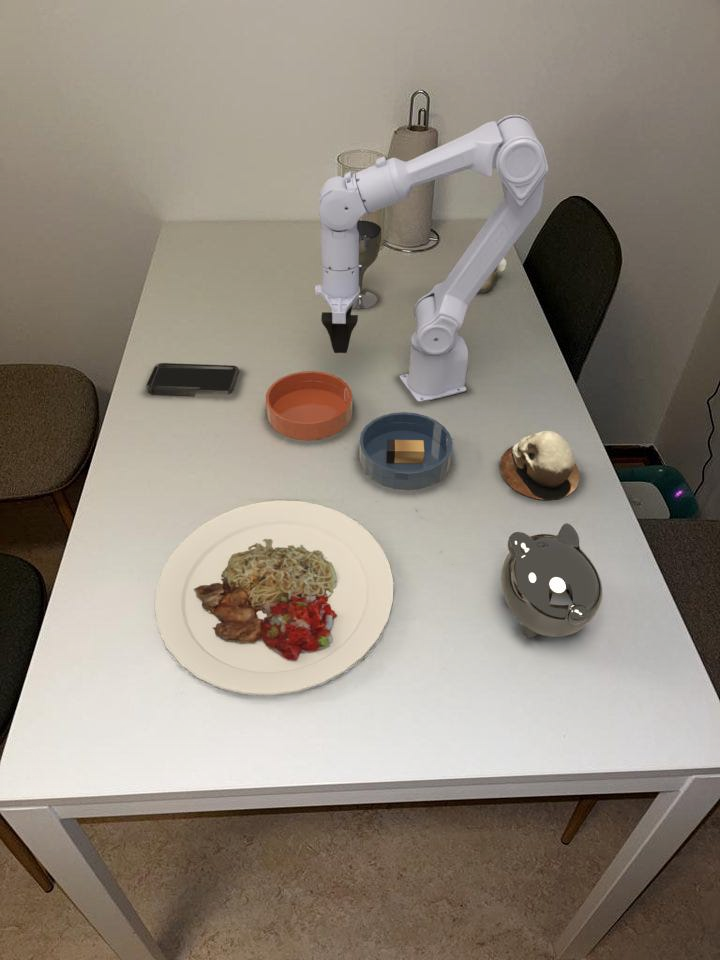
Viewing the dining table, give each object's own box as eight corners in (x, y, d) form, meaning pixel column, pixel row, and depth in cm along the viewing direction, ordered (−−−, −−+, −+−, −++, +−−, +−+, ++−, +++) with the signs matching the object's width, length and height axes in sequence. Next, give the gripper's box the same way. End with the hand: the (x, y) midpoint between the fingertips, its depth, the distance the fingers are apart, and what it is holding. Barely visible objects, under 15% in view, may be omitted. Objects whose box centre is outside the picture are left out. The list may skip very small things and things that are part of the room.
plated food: (254, 482, 103) (251, 465, 101) (433, 563, 92) (435, 547, 90) (106, 627, 85) (99, 611, 82) (308, 750, 74) (306, 736, 72)
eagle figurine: (468, 264, 151) (453, 274, 144) (490, 240, 146) (476, 249, 140) (492, 290, 151) (477, 301, 144) (515, 267, 146) (501, 277, 140)
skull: (479, 453, 107) (526, 403, 103) (516, 474, 113) (560, 428, 110) (520, 503, 98) (572, 451, 95) (557, 522, 105) (606, 474, 102)
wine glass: (386, 296, 143) (389, 226, 132) (366, 313, 138) (367, 242, 128) (354, 286, 146) (354, 217, 135) (333, 302, 141) (331, 231, 131)
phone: (156, 362, 123) (239, 365, 123) (157, 367, 124) (240, 370, 123) (144, 389, 118) (231, 392, 117) (145, 394, 118) (232, 397, 118)
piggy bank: (555, 559, 93) (575, 500, 85) (608, 654, 83) (635, 597, 75) (477, 573, 91) (489, 514, 83) (520, 672, 81) (539, 616, 73)
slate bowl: (425, 423, 114) (427, 404, 111) (465, 478, 104) (469, 458, 101) (346, 444, 110) (346, 424, 107) (381, 502, 100) (382, 483, 98)
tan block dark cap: (422, 452, 107) (423, 439, 106) (423, 464, 106) (424, 451, 104) (386, 451, 107) (387, 439, 106) (386, 463, 106) (387, 450, 104)
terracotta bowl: (334, 382, 121) (334, 363, 119) (364, 430, 112) (365, 411, 109) (257, 400, 118) (255, 381, 115) (282, 451, 108) (280, 432, 105)
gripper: (316, 240, 110) (319, 315, 120) (310, 285, 100) (314, 363, 109) (360, 241, 110) (360, 316, 120) (359, 286, 100) (358, 364, 109)
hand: (341, 338), depth 114 cm, fingers open, 7 cm apart
